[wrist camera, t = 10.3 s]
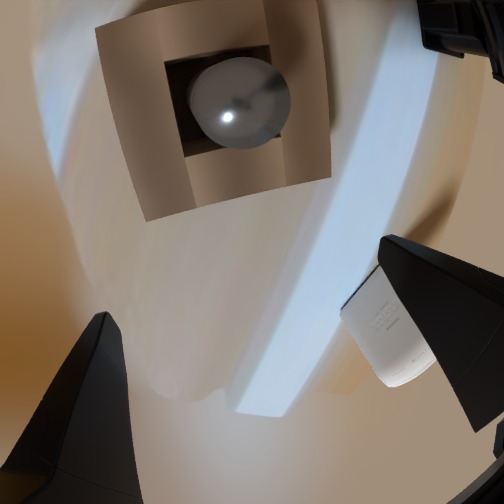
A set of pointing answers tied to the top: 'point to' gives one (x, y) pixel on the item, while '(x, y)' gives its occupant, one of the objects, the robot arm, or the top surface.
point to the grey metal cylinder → (240, 102)
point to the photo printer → (386, 332)
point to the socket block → (205, 149)
